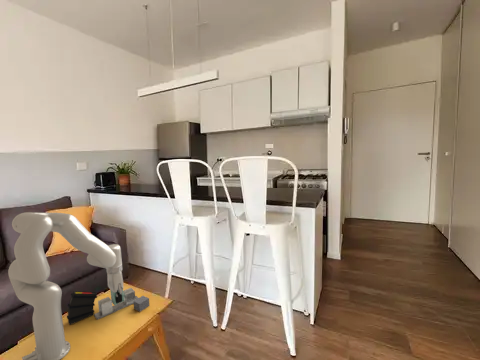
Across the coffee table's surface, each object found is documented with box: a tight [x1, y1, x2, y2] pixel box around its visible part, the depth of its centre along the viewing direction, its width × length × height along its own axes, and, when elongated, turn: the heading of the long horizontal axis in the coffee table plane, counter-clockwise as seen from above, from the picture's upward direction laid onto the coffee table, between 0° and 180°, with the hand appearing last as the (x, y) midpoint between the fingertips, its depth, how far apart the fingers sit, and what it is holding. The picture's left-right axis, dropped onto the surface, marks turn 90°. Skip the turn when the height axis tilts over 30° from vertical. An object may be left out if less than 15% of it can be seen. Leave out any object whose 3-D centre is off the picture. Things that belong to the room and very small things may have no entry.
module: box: [110, 289, 124, 306], centre depth 137 cm, size 5×4×7 cm
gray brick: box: [133, 295, 150, 313], centre depth 137 cm, size 6×5×4 cm
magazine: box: [66, 290, 98, 326], centre depth 129 cm, size 4×13×15 cm, turn 135°
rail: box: [93, 287, 139, 321], centre depth 137 cm, size 22×5×7 cm, turn 136°
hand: (117, 300), depth 137 cm, fingers closed on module, 4 cm apart
